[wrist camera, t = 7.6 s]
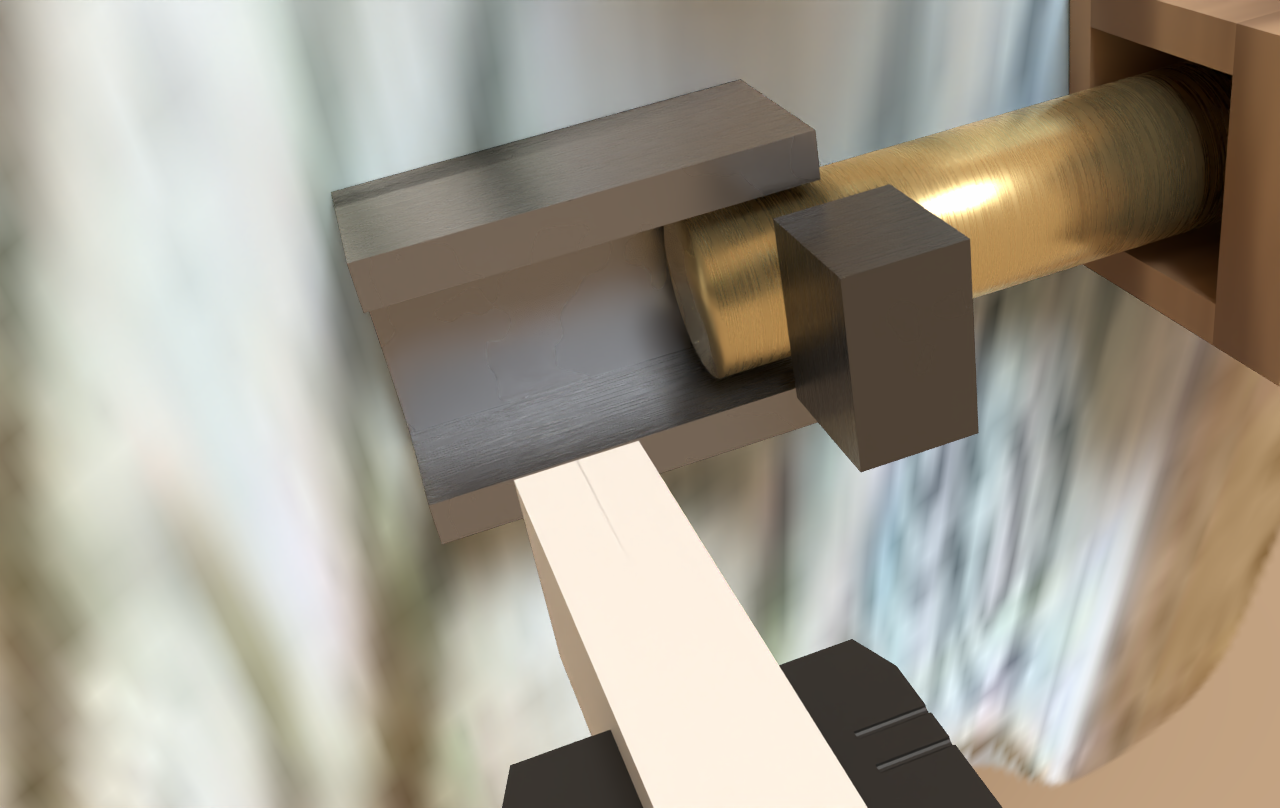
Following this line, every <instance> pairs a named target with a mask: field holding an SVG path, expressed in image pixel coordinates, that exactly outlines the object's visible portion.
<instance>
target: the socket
mask: <svg viewBox="0 0 1280 808" xmlns="http://www.w3.org/2000/svg"><path fill="white" fill-rule="evenodd" d="M1187 60H1189V61H1192V62H1195V63H1198V64H1201V65H1204V66H1207V67H1210V68H1213V69H1216V70H1218V71H1221V72H1224V73H1227V74H1230V75H1233V78H1232V91H1231V105H1230V118H1229V131H1228V145H1227V158H1226V171H1225V185H1224V198H1223V211H1222V221H1218V222H1215V223H1212V224H1209V225H1206V226H1202V227H1199V228H1196V229H1193V230H1190V231H1187V232H1183V233H1180V234H1177V235H1174V236H1171V237H1168V238H1164V239H1161V240H1158V241H1155V242H1152V243H1148V244H1145V245H1142V246H1139V247H1136V248H1133V249H1129V250H1126V251H1123V252H1120V253H1117V254H1114V255H1110V256H1107V257H1104V258H1101V259H1098V260H1094V261H1091V262H1088V263H1085V264H1083V265H1085V266H1086V267H1088V268H1090V269H1091V270H1093V271H1094V272H1096V273H1098V274H1099V275H1101V276H1102V277H1104V278H1106V279H1107V280H1109V281H1110V282H1112V283H1114V284H1115V285H1117V286H1119V287H1120V288H1122V289H1123V290H1125V291H1127V292H1128V293H1130V294H1131V295H1133V296H1135V297H1136V298H1138V299H1139V300H1141V301H1143V302H1144V303H1146V304H1147V305H1149V306H1151V307H1152V308H1154V309H1155V310H1157V311H1159V312H1160V313H1162V314H1164V315H1165V316H1167V317H1168V318H1170V319H1172V320H1173V321H1175V322H1176V323H1178V324H1180V325H1181V326H1183V327H1184V328H1186V329H1188V330H1189V331H1191V332H1192V333H1194V334H1196V335H1197V336H1199V337H1201V338H1202V339H1204V340H1205V341H1207V342H1209V343H1210V344H1212V345H1213V346H1215V347H1217V348H1218V349H1220V350H1221V351H1223V352H1225V353H1226V354H1228V355H1229V356H1231V357H1233V358H1234V359H1236V360H1238V361H1239V362H1241V363H1242V364H1244V365H1246V366H1247V367H1249V368H1250V369H1252V370H1254V371H1255V372H1257V373H1258V374H1260V375H1262V376H1263V377H1265V378H1266V379H1268V380H1270V381H1271V382H1273V383H1274V384H1276V385H1278V386H1280V0H1070V73H1069V95H1070V94H1073V93H1077V92H1080V91H1083V90H1087V89H1090V88H1094V87H1097V86H1101V85H1104V84H1108V83H1111V82H1114V81H1118V80H1121V79H1125V78H1128V77H1132V76H1135V75H1139V74H1142V73H1145V72H1149V71H1152V70H1156V69H1159V68H1163V67H1166V66H1170V65H1173V64H1176V63H1180V62H1183V61H1187Z"/></svg>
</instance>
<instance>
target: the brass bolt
mask: <svg viewBox="0 0 1280 808" xmlns="http://www.w3.org/2000/svg"><path fill="white" fill-rule="evenodd" d="M1232 78H1233V75H1230V74H1227V73H1224V72H1221V71H1218V70H1216V69H1213V68H1210V67H1207V66H1204V65H1201V64H1198V63H1195V62H1192V61H1189V60H1187V61H1183V62H1180V63H1176V64H1173V65H1170V66H1166V67H1163V68H1159V69H1156V70H1152V71H1149V72H1145V73H1142V74H1139V75H1135V76H1132V77H1128V78H1125V79H1121V80H1118V81H1114V82H1111V83H1108V84H1104V85H1101V86H1097V87H1094V88H1090V89H1087V90H1083V91H1080V92H1077V93H1073V94H1070V95H1066V96H1063V97H1059V98H1056V99H1052V100H1049V101H1046V102H1042V103H1039V104H1035V105H1032V106H1028V107H1025V108H1021V109H1018V110H1015V111H1011V112H1008V113H1004V114H1001V115H997V116H994V117H990V118H987V119H984V120H980V121H977V122H973V123H970V124H966V125H963V126H959V127H956V128H952V129H949V130H946V131H942V132H939V133H935V134H932V135H928V136H925V137H921V138H918V139H915V140H911V141H908V142H904V143H901V144H897V145H894V146H890V147H887V148H884V149H880V150H877V151H873V152H870V153H866V154H863V155H859V156H856V157H853V158H849V159H846V160H842V161H839V162H835V163H832V164H828V165H825V166H822V167H819V169H820V178H821V180H817V181H814V182H811V183H807V184H804V185H800V186H797V187H793V188H790V189H787V190H783V191H780V192H776V193H773V194H769V195H766V196H763V197H759V198H756V199H752V200H749V201H746V202H742V203H739V204H735V205H732V206H728V207H725V208H722V209H718V210H715V211H711V212H708V213H704V214H701V215H698V216H694V217H691V218H687V219H684V220H680V221H677V222H674V223H670V224H667V225H664V241H665V250H666V257H667V263H668V268H669V273H670V277H671V281H672V285H673V289H674V293H675V296H676V300H677V303H678V306H679V309H680V313H681V316H682V318H683V321H684V324H685V327H686V329H687V332H688V334H689V337H690V339H691V341H692V343H693V346H694V348H695V350H696V352H697V354H698V356H699V358H700V359H701V361H702V363H703V364H704V366H705V367H706V369H707V370H708V371H709V372H710V374H712V375H713V376H714V377H715V378H719V379H720V378H723V377H726V376H729V375H732V374H736V373H739V372H742V371H745V370H748V369H751V368H755V367H758V366H761V365H764V364H767V363H770V362H774V361H777V360H780V359H783V358H786V357H790V356H791V357H792V365H793V372H794V380H795V387H796V395H797V398H798V400H799V401H800V402H801V403H802V404H803V405H804V407H805V408H806V409H807V410H808V411H809V412H810V414H811V415H812V416H813V417H814V418H815V419H816V421H817V422H818V423H819V424H820V425H821V426H822V428H823V429H824V430H825V431H826V432H827V433H828V435H829V436H830V437H831V438H832V439H833V440H834V442H835V443H836V444H837V445H838V446H839V448H840V449H841V450H842V451H843V452H844V453H845V455H846V456H847V457H848V458H849V459H850V460H851V462H852V463H853V464H854V465H855V466H856V467H857V469H858V470H859V471H860V472H863V471H866V470H869V469H872V468H875V467H878V466H881V465H884V464H887V463H890V462H893V461H896V460H899V459H902V458H905V457H908V456H911V455H914V454H917V453H920V452H923V451H926V450H929V449H932V448H935V447H938V446H941V445H944V444H947V443H950V442H953V441H956V440H959V439H962V438H965V437H968V436H971V435H974V434H977V433H978V411H977V388H976V364H975V340H974V317H973V299H974V298H977V297H980V296H983V295H986V294H990V293H993V292H996V291H999V290H1002V289H1006V288H1009V287H1012V286H1015V285H1018V284H1021V283H1025V282H1028V281H1031V280H1034V279H1037V278H1040V277H1044V276H1047V275H1050V274H1053V273H1056V272H1060V271H1063V270H1066V269H1069V268H1072V267H1075V266H1079V265H1082V264H1085V263H1088V262H1091V261H1094V260H1098V259H1101V258H1104V257H1107V256H1110V255H1114V254H1117V253H1120V252H1123V251H1126V250H1129V249H1133V248H1136V247H1139V246H1142V245H1145V244H1148V243H1152V242H1155V241H1158V240H1161V239H1164V238H1168V237H1171V236H1174V235H1177V234H1180V233H1183V232H1187V231H1190V230H1193V229H1196V228H1199V227H1202V226H1206V225H1209V224H1212V223H1215V222H1218V221H1222V211H1223V198H1224V185H1225V171H1226V158H1227V145H1228V131H1229V118H1230V105H1231V91H1232Z"/></svg>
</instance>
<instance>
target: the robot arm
mask: <svg viewBox="0 0 1280 808" xmlns="http://www.w3.org/2000/svg"><path fill="white" fill-rule="evenodd" d="M514 483H515V487H516V490H517V494H518V498H519V502H520V506H521V509H522V513H523V517H524V521H525V525H526V529H527V532H528V536H529V540H530V544H531V548H532V551H533V555H534V559H535V563H536V567H537V570H538V574H539V578H540V582H541V586H542V589H543V593H544V597H545V601H546V605H547V608H548V612H549V616H550V620H551V624H552V627H553V631H554V635H555V639H556V643H557V646H558V650H559V654H560V657H561V660H562V662H563V665H564V667H565V670H566V673H567V675H568V678H569V680H570V683H571V685H572V688H573V690H574V693H575V695H576V698H577V700H578V703H579V705H580V708H581V710H582V713H583V715H584V718H585V720H586V723H587V726H588V728H589V731H590V733H591V737H588V738H585V739H582V740H580V741H577V742H574V743H571V744H569V745H566V746H563V747H560V748H557V749H555V750H552V751H549V752H546V753H544V754H541V755H538V756H535V757H532V758H530V759H527V760H524V761H521V762H519V763H516V764H513V765H510V770H509V775H508V780H507V785H506V790H505V795H504V800H503V806H502V808H1002V807H1001V805H1000V804H999V802H998V801H997V800H996V798H995V797H994V796H993V795H992V793H991V792H990V791H989V789H988V788H987V786H986V785H985V784H984V782H983V781H982V780H981V778H980V777H979V776H978V774H977V773H976V772H975V770H974V769H973V768H972V766H971V765H970V764H969V762H968V761H967V760H966V758H965V757H964V756H963V754H962V753H961V752H960V750H959V749H958V748H957V746H956V745H952V743H951V741H950V738H949V736H948V734H947V733H946V732H945V730H944V729H943V728H942V726H941V725H940V724H939V722H938V721H937V720H936V718H935V717H934V716H933V714H932V713H928V711H927V709H926V705H925V704H924V702H923V701H922V700H921V698H920V697H919V696H918V694H917V693H916V692H915V690H914V689H913V688H912V686H911V685H910V684H909V682H908V681H907V679H906V678H905V677H904V675H903V674H902V673H901V671H900V670H899V669H898V667H897V666H896V665H894V664H892V663H891V662H889V661H887V660H886V659H884V658H882V657H881V656H879V655H878V654H876V653H874V652H873V651H871V650H869V649H868V648H866V647H864V646H863V645H861V644H859V643H858V642H856V641H854V640H853V639H851V640H848V641H845V642H843V643H840V644H837V645H834V646H832V647H829V648H826V649H823V650H820V651H818V652H815V653H812V654H809V655H807V656H804V657H801V658H798V659H795V660H793V661H790V662H787V663H784V664H782V665H778V663H777V662H776V660H775V659H774V657H773V655H772V654H771V652H770V651H769V649H768V647H767V646H766V644H765V643H764V641H763V639H762V638H761V636H760V635H759V633H758V631H757V630H756V628H755V627H754V625H753V623H752V622H751V620H750V619H749V617H748V615H747V614H746V612H745V610H744V609H743V607H742V606H741V604H740V602H739V601H738V599H737V598H736V596H735V594H734V593H733V591H732V590H731V588H730V586H729V585H728V583H727V582H726V580H725V578H724V577H723V575H722V574H721V572H720V570H719V569H718V567H717V566H716V564H715V562H714V561H713V559H712V558H711V556H710V554H709V553H708V551H707V550H706V548H705V546H704V545H703V543H702V542H701V540H700V538H699V537H698V535H697V534H696V532H695V530H694V529H693V527H692V526H691V524H690V522H689V521H688V519H687V518H686V516H685V514H684V513H683V511H682V510H681V508H680V506H679V505H678V503H677V501H676V500H675V498H674V497H673V495H672V493H671V492H670V490H669V489H668V487H667V485H666V484H665V482H664V481H663V479H662V477H661V476H660V474H659V473H658V471H657V469H656V468H655V466H654V465H653V463H652V461H651V460H650V458H649V457H648V455H647V453H646V452H645V450H644V449H643V447H642V445H641V444H640V442H639V441H636V442H633V443H630V444H627V445H623V446H620V447H617V448H614V449H611V450H608V451H604V452H601V453H598V454H595V455H592V456H589V457H586V458H582V459H579V460H576V461H573V462H570V463H567V464H563V465H560V466H557V467H554V468H551V469H548V470H544V471H541V472H538V473H535V474H532V475H529V476H525V477H522V478H519V479H516V480H514Z"/></svg>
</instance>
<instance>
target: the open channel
mask: <svg viewBox="0 0 1280 808" xmlns="http://www.w3.org/2000/svg"><path fill="white" fill-rule="evenodd" d="M817 180H821V178H820V169H819V160H818V151H817V141H816V132H815V130H814V129H813V128H811V127H810V126H808V125H807V124H806V123H804V122H803V121H801V120H800V119H798V118H797V117H795V116H794V115H792V114H791V113H789V112H788V111H786V110H785V109H783V108H782V107H780V106H779V105H777V104H776V103H774V102H773V101H772V100H770V99H769V98H767V97H766V96H764V95H763V94H761V93H760V92H758V91H757V90H755V89H754V88H752V87H751V86H749V85H748V84H746V83H745V82H743V81H742V80H741V79H740V80H737V81H733V82H729V83H726V84H722V85H719V86H715V87H711V88H708V89H704V90H700V91H697V92H693V93H690V94H686V95H682V96H679V97H675V98H671V99H668V100H664V101H660V102H657V103H653V104H650V105H646V106H642V107H639V108H635V109H631V110H628V111H624V112H620V113H617V114H613V115H610V116H606V117H602V118H599V119H595V120H591V121H588V122H584V123H580V124H577V125H573V126H570V127H566V128H562V129H559V130H555V131H551V132H548V133H544V134H541V135H537V136H533V137H530V138H526V139H522V140H519V141H515V142H511V143H508V144H504V145H501V146H497V147H493V148H490V149H486V150H482V151H479V152H475V153H471V154H468V155H464V156H461V157H457V158H453V159H450V160H446V161H442V162H439V163H435V164H431V165H428V166H424V167H421V168H417V169H413V170H410V171H406V172H402V173H399V174H395V175H392V176H388V177H384V178H381V179H377V180H373V181H370V182H366V183H362V184H359V185H355V186H352V187H348V188H344V189H341V190H337V191H333V192H331V194H332V198H333V203H334V207H335V212H336V216H337V221H338V225H339V230H340V234H341V239H342V243H343V248H344V252H345V257H346V261H347V265H348V268H349V271H350V274H351V277H352V280H353V283H354V286H355V289H356V292H357V295H358V298H359V301H360V304H361V306H362V309H363V312H364V313H365V312H370V315H371V318H372V321H373V324H374V327H375V330H376V333H377V336H378V339H379V342H380V345H381V348H382V351H383V354H384V357H385V360H386V363H387V366H388V369H389V372H390V375H391V378H392V381H393V384H394V387H395V390H396V393H397V396H398V399H399V402H400V405H401V408H402V411H403V414H404V417H405V420H406V423H407V425H408V428H409V431H410V435H411V439H412V443H413V446H414V450H415V454H416V458H417V462H418V466H419V470H420V473H421V477H422V481H423V485H424V489H425V493H426V497H427V500H428V504H429V508H430V511H431V514H432V516H433V519H434V522H435V525H436V528H437V531H438V534H439V537H440V540H441V543H442V544H445V543H448V542H451V541H454V540H457V539H460V538H463V537H466V536H469V535H473V534H476V533H479V532H482V531H485V530H488V529H491V528H494V527H497V526H500V525H503V524H506V523H509V522H513V521H516V520H519V519H522V518H524V517H523V513H522V509H521V506H520V502H519V498H518V494H517V490H516V487H515V483H514V480H516V479H519V478H522V477H525V476H529V475H532V474H535V473H538V472H541V471H544V470H548V469H551V468H554V467H557V466H560V465H563V464H567V463H570V462H573V461H576V460H579V459H582V458H586V457H589V456H592V455H595V454H598V453H601V452H604V451H608V450H611V449H614V448H617V447H620V446H623V445H627V444H630V443H633V442H636V441H639V442H640V444H641V445H642V447H643V449H644V450H645V452H646V453H647V455H648V457H649V458H650V460H651V461H652V463H653V465H654V466H655V468H656V469H657V471H658V473H659V474H660V473H663V472H666V471H669V470H673V469H676V468H679V467H682V466H685V465H688V464H691V463H694V462H697V461H700V460H703V459H706V458H709V457H713V456H716V455H719V454H722V453H725V452H728V451H731V450H734V449H737V448H740V447H743V446H746V445H749V444H753V443H756V442H759V441H762V440H765V439H768V438H771V437H774V436H777V435H780V434H783V433H786V432H789V431H792V430H796V429H799V428H802V427H805V426H808V425H811V424H814V423H817V421H816V419H815V418H814V417H813V416H812V415H811V414H810V412H809V411H808V410H807V409H806V408H805V407H804V405H803V404H802V403H801V402H800V401H799V400H798V398H797V395H796V387H795V380H794V372H793V365H792V357H791V356H790V357H786V358H783V359H780V360H777V361H774V362H770V363H767V364H764V365H761V366H758V367H755V368H751V369H748V370H745V371H742V372H739V373H736V374H732V375H729V376H726V377H723V378H720V379H719V378H715V377H714V376H713V375H712V374H710V372H709V371H708V370H707V369H706V367H705V366H704V364H703V363H702V361H701V359H700V358H699V356H698V354H697V352H696V350H695V348H694V346H693V343H692V341H691V339H690V337H689V334H688V332H687V329H686V327H685V324H684V321H683V318H682V316H681V313H680V309H679V306H678V303H677V300H676V296H675V293H674V289H673V285H672V281H671V277H670V273H669V268H668V263H667V257H666V250H665V241H664V225H667V224H670V223H674V222H677V221H680V220H684V219H687V218H691V217H694V216H698V215H701V214H704V213H708V212H711V211H715V210H718V209H722V208H725V207H728V206H732V205H735V204H739V203H742V202H746V201H749V200H752V199H756V198H759V197H763V196H766V195H769V194H773V193H776V192H780V191H783V190H787V189H790V188H793V187H797V186H800V185H804V184H807V183H811V182H814V181H817Z"/></svg>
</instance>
